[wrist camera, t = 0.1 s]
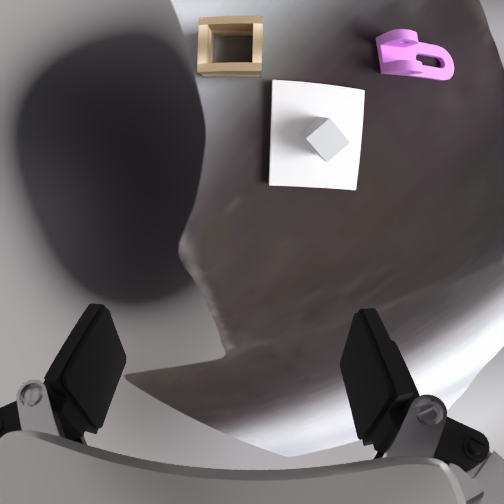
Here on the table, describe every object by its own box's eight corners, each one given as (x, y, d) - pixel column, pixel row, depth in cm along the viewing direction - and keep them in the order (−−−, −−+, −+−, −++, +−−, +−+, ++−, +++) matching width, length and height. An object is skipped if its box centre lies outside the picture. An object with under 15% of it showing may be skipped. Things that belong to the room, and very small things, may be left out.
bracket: (380, 73, 31) (403, 69, 25) (375, 38, 28) (396, 27, 22) (450, 82, 30) (478, 82, 24) (446, 49, 28) (473, 46, 21)
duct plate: (271, 81, 32) (275, 74, 26) (360, 90, 32) (381, 88, 26) (268, 182, 39) (271, 197, 33) (352, 187, 39) (370, 202, 33)
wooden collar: (207, 30, 29) (198, 17, 23) (261, 29, 29) (262, 16, 23) (205, 77, 32) (197, 72, 27) (260, 77, 32) (261, 71, 27)
